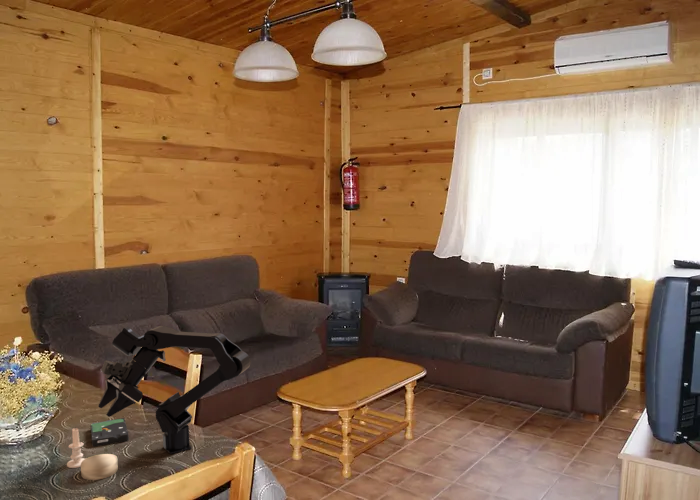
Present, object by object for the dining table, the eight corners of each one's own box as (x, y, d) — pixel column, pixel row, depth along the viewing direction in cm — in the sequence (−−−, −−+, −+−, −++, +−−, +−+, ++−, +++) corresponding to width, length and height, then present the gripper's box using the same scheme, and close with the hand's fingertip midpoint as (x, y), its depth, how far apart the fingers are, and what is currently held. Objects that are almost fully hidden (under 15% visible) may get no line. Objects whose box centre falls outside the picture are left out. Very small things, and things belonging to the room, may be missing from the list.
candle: (90, 459, 170) (88, 423, 169) (83, 467, 165) (80, 430, 164) (71, 459, 170) (69, 423, 169) (63, 468, 165) (61, 431, 164)
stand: (113, 461, 169) (112, 451, 168) (121, 473, 161) (121, 462, 161) (78, 470, 164) (77, 459, 163) (85, 483, 156) (84, 471, 156)
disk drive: (129, 442, 183) (124, 425, 196) (129, 433, 183) (124, 416, 196) (92, 449, 179) (89, 431, 192) (92, 440, 178) (89, 422, 192)
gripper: (109, 343, 179) (72, 388, 174) (127, 355, 164) (87, 405, 159) (139, 364, 185) (104, 408, 179) (158, 377, 169) (121, 426, 164)
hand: (103, 411), depth 170 cm, fingers open, 9 cm apart
